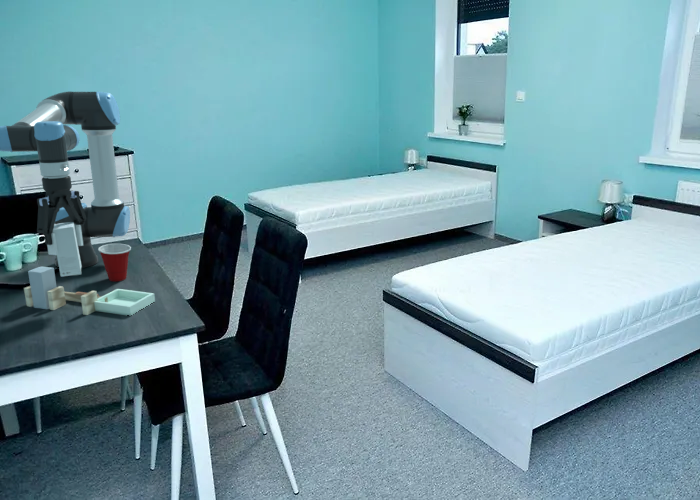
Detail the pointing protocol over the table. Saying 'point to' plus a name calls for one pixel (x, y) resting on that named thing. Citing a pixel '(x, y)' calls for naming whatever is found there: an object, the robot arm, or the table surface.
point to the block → (41, 285)
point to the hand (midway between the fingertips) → (66, 249)
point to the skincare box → (67, 249)
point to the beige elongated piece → (67, 298)
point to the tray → (124, 302)
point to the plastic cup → (115, 260)
